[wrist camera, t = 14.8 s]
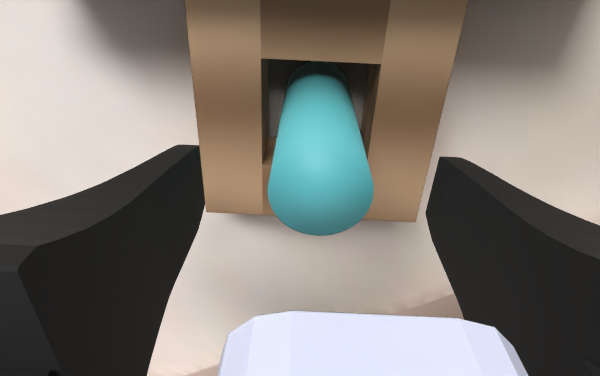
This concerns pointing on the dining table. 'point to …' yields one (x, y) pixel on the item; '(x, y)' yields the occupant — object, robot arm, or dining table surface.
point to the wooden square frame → (332, 48)
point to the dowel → (319, 155)
